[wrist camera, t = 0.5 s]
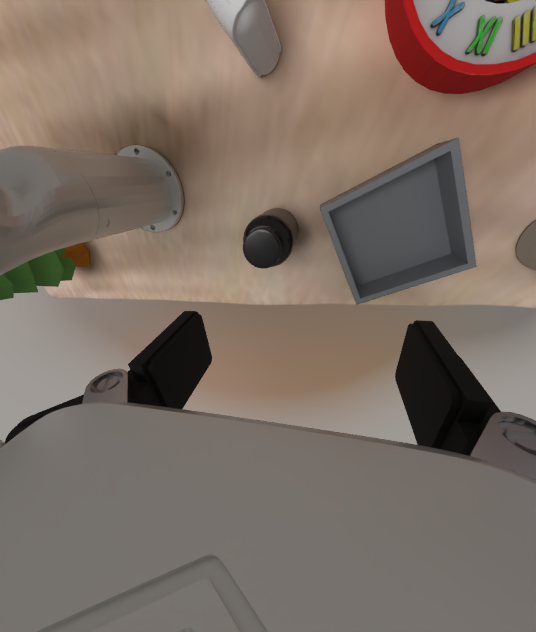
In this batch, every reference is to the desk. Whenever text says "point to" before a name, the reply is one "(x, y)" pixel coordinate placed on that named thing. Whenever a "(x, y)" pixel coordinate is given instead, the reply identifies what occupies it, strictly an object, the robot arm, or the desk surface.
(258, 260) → the supplement bottle
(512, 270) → the desk surface
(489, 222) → the desk surface
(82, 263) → the decorative tree
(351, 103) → the desk surface
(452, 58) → the toy clock
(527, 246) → the travel mug
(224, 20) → the photo printer
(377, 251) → the box
